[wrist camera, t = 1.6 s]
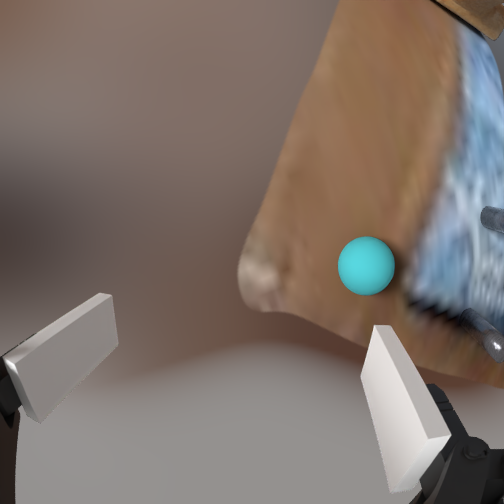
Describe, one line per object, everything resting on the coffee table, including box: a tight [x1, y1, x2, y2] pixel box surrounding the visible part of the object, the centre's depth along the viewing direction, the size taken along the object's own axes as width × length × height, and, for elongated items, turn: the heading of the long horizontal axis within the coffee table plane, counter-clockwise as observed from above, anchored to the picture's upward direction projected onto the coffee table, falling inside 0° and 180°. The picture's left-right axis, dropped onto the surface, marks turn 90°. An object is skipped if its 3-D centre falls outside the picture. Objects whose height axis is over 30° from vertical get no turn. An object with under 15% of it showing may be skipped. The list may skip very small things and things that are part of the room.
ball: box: [338, 237, 395, 295], centre depth 26 cm, size 6×6×6 cm
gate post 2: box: [459, 308, 504, 363], centre depth 24 cm, size 2×2×9 cm
